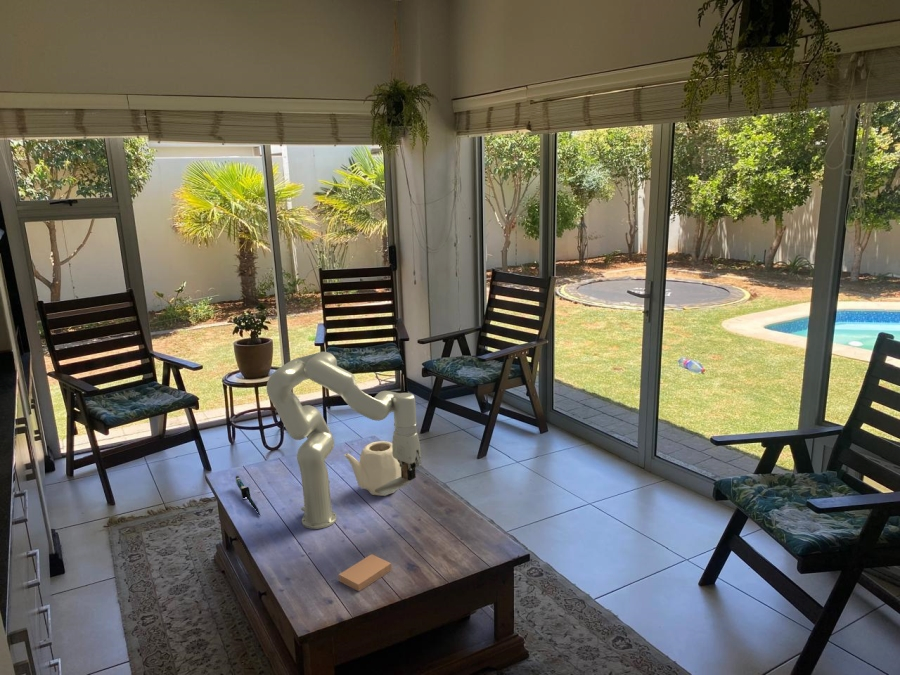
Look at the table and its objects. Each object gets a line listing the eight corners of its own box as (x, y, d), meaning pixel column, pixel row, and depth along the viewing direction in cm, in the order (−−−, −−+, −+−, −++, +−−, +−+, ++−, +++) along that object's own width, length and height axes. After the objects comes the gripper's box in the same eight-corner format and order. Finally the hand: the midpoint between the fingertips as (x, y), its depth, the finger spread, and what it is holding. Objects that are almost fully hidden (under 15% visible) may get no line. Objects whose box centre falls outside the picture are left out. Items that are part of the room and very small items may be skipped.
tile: (372, 561, 220) (339, 582, 210) (371, 554, 220) (338, 574, 209) (391, 571, 215) (359, 592, 204) (391, 563, 214) (358, 584, 204)
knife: (235, 485, 276) (234, 475, 275) (243, 483, 278) (242, 473, 276) (254, 523, 251) (252, 513, 250) (262, 521, 253) (261, 511, 251)
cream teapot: (341, 491, 270) (337, 447, 265) (402, 475, 281) (399, 433, 277) (354, 507, 256) (351, 461, 252) (418, 490, 268) (415, 445, 264)
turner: (374, 491, 228) (373, 475, 227) (408, 474, 240) (407, 459, 238) (385, 495, 225) (383, 479, 223) (418, 478, 236) (417, 462, 235)
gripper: (381, 426, 234) (385, 475, 239) (414, 437, 224) (417, 488, 228) (397, 420, 240) (400, 468, 244) (430, 430, 229) (432, 480, 233)
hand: (408, 477), depth 236 cm, fingers closed on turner, 2 cm apart
